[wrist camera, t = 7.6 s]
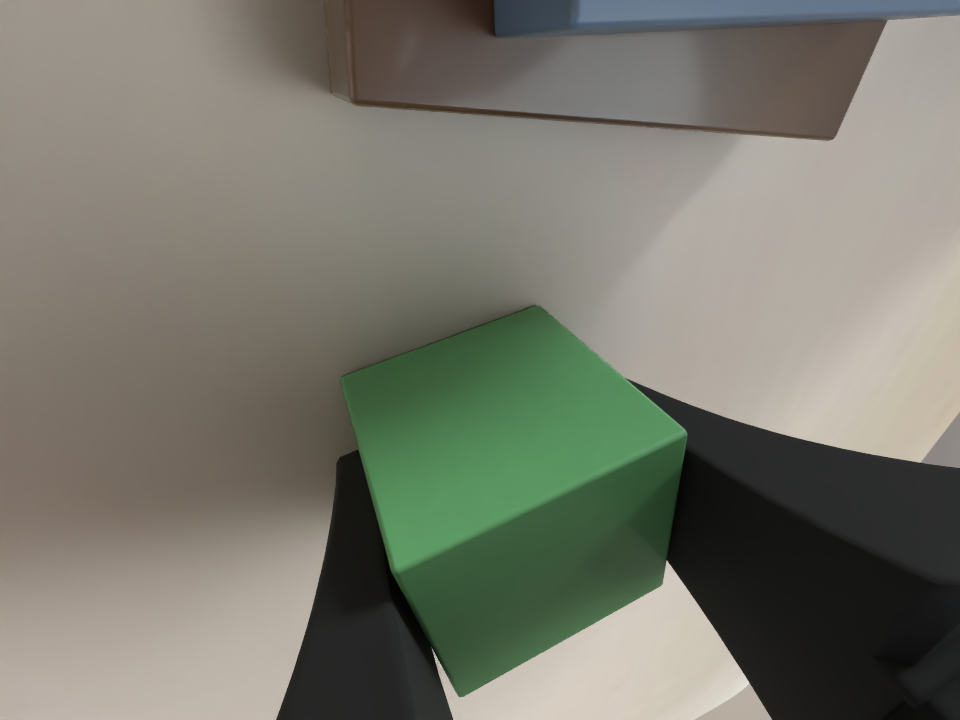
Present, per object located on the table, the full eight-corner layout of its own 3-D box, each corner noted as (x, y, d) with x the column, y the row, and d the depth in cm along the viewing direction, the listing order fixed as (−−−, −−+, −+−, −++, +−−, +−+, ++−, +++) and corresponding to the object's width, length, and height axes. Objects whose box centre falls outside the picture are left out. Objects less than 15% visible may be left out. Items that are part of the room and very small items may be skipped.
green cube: (538, 302, 10) (691, 431, 7) (551, 441, 13) (663, 585, 9) (338, 375, 9) (390, 573, 6) (398, 510, 12) (459, 700, 8)
